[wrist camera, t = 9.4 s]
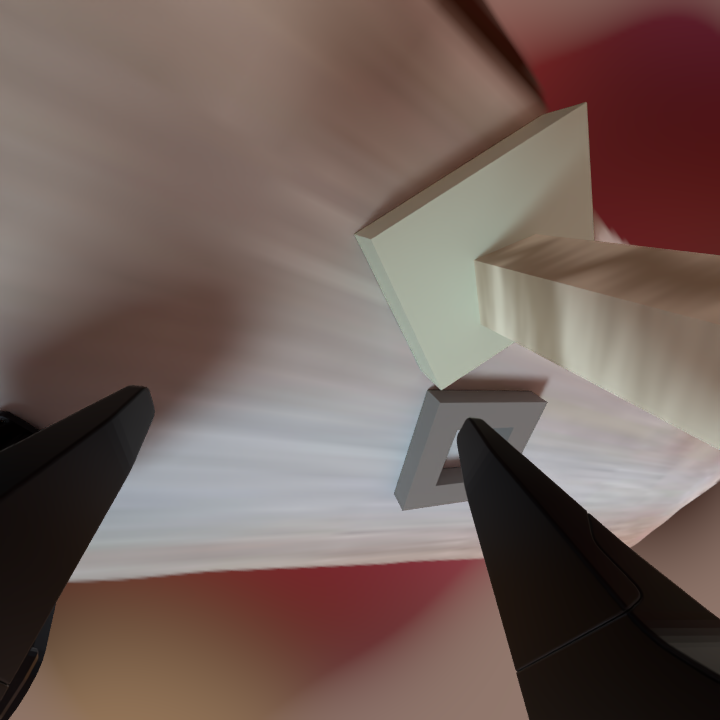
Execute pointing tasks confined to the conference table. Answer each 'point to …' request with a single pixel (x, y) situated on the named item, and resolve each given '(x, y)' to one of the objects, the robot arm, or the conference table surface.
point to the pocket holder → (437, 431)
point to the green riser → (478, 236)
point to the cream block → (615, 320)
